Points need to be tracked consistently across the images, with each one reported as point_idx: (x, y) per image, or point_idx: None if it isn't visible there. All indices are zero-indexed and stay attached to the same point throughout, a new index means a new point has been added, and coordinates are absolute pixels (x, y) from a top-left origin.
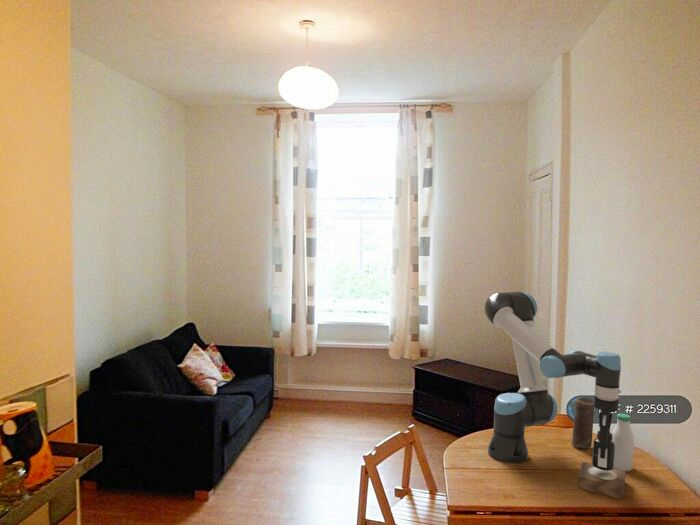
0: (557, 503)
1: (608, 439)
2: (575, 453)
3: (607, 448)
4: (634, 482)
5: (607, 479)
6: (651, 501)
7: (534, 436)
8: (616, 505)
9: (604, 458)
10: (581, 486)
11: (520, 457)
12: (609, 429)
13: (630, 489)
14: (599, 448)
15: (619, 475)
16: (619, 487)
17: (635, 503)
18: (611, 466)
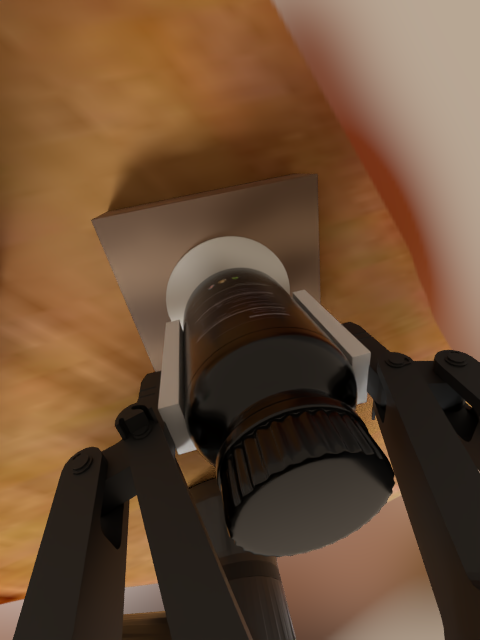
0: (431, 327)
1: (356, 421)
2: (12, 440)
3: (354, 357)
4: (60, 171)
5: (281, 262)
6: (225, 33)
7: (18, 546)
8: (362, 182)
9: (352, 323)
10: None
11: None
12: (87, 546)
13: (166, 169)
14: (363, 392)
15: (183, 232)
16: (315, 195)
17: (300, 112)
18: (264, 275)
